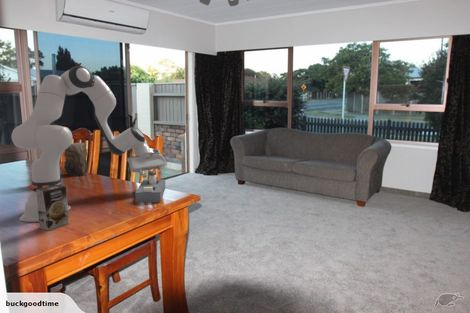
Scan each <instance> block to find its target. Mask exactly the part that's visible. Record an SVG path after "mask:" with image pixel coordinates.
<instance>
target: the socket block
mask: <svg viewBox="0 0 470 313" xmlns="http://www.w3.org/2000/svg"><path fill="white" fill-rule="evenodd" d="M158 177H159V176H156V182H157V184H149V179H143V180H142V182H141V183H140V184H139V186H138V188H137V189H136V191H135V193H134V194H135V195H134V196H135V204H137V203H139V204H141V203H161V201H162V199H163V196H164V193H165V191H166V179H158Z"/></svg>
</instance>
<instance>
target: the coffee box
mask: <svg viewBox="0 0 470 313" xmlns="http://www.w3.org/2000/svg"><path fill="white" fill-rule="evenodd" d="M36 192H37V203H38V215H39V221H38V224H39V225H38V226H39V228H40V229H43V230H45V231H51V230H54V229H57V228H60V227H62V226H63V227H64V226H66V225H69V224H70V222H69V210H68V207H67V204H68V197H67V186H66V185H63V184H62V185H53V186H48V187H44V188H39V189H36Z"/></svg>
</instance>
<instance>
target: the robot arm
mask: <svg viewBox="0 0 470 313" xmlns="http://www.w3.org/2000/svg"><path fill="white" fill-rule="evenodd" d="M80 92H82V93H84V94H86V95H87V96H88V98H89V100H90V101H91V102H92V104H93V106H94V110H95V111H94V113H93V115H94V119H95V121H96V123H97V125H98V128H99V130H100V132H101V134H102V135H103V137H104V139H105V142H106V144H107V146H108V148H109V151H110V152H111V154H112V155H114V156H122V155H124V154H125V153H126V152H128V151H129V150H130V149H132V150H133V154H134V155H133V156H128V157H127V158H126V160H127V163H128V165H129V166H128V167H129V169H130V172H131V173H138V174H140V176H142V178H146V177H147V173H145V171H146V172H147V171H154V170H158V172H157V174H158V175H159V176H160V175H161V176H162V175H163V169H164V168H166V165H167V160H166V159H165V157H164V155H163V154H161V151H160V150H159V149H156V148H152V147H151V148H150V146H149V145H148V142H147V139H146V137H145V135H144V133H143V132H142V130H140V128H138V127H129V128H127V129H126V130H124V131H122V132H121V133H119V134H117V135H116V136H114V135H113V132H112V130H111V128H110V126H109V124H108V118H109V117H110V115H111V113H112V112H113V110H114V109H115V107H116V106H117V99H116V97H115V95H114V93H113V91H112V90H111V88H110V87H109V86H108V85H107V83H106V82H105V81H104V80H103V79H102V78H101V77H100V76H99V75H96V74H93V73H92V72H91V71H90V69H88V68H87V67H86V66H83V65H76V66H75V65H74V66H73V67H71V68H70V69H68V70H66V71H64V72H63V73H62V74H61V75H60V76H59V75H57V74H48V75H46V76H44V78H43V80H42V81H41V83H40V86H39V89H38V92H37V97H36V101H35V104H34V106H33V110H32V111H31V113H30V115H29V116H28V117H27V119H25V121H23V122H22V123H21V124H19V125H18V126H16V127H14V129H13V130H12V133H11V141H12V143H13V144H14V146H15V147H17V148H20V149H25V150H34V151H35V150H37V151H38V150H39V151H41V154H40V155H39V156H40V158H39V157H38V158H36V159H35V160H34V161H32V163H31V165H30V166H31V167H30V169H31V177H32V178H31V179H32V181H31V183H30V184H29V185H28V190H30V191H31V192H30V193H29V196H28V198H27V201H26V202H25V205H24V212H23V214H22V215H21V216H20V217H19V222H26V223H27V222H29V223H30V222H31V223H32V222H33V223H34V222H38V223H39V215H38V203H37V192H36V189H39V188H44V187H48V186H53V185H62V186H63V184H62V183H63V181H62V178H61V175H60V173H61V172H60V162H61V159H62V158H61V157H62V155H63V154H64V153H65V150H66V149H67V148H68V147H69V146H70V145H71V144H73V134H72V131H71V129H70V128H69V127H66V126H62V125H58V124H52V123H53V122H55V121H57V120H59V119H60V118H61V117H62V114H63V109H64V104H65V100H66V97H72V96H75V95H76V94H78V93H80ZM67 207H68V211H70V210H71V209H72V208H71V206H70V205H68V203H67Z"/></svg>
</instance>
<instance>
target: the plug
mask: <svg viewBox="0 0 470 313" xmlns="http://www.w3.org/2000/svg"><path fill="white" fill-rule="evenodd" d="M156 177H157V171H156V170H148V180H149V184H157V182H156Z"/></svg>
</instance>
